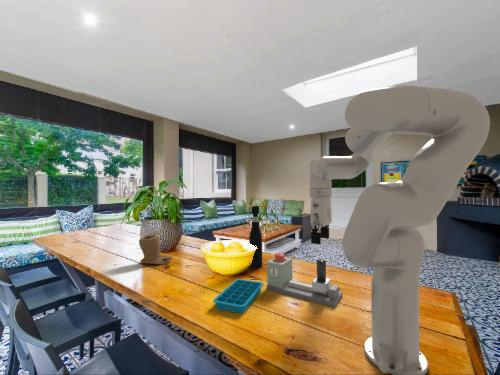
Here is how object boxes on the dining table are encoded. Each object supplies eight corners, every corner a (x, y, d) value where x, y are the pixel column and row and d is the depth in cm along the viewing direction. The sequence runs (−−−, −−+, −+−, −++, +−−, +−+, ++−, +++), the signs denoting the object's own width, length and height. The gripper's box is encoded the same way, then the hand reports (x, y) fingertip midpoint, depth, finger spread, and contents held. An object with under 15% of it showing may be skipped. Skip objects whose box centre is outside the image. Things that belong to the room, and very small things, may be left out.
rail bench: (334, 307, 80) (334, 275, 80) (266, 289, 94) (266, 262, 94) (342, 295, 88) (342, 266, 88) (278, 280, 103) (278, 255, 103)
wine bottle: (261, 268, 118) (260, 206, 117) (248, 267, 119) (247, 206, 118) (263, 264, 124) (262, 205, 123) (251, 263, 125) (250, 205, 125)
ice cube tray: (264, 290, 94) (264, 282, 94) (244, 316, 76) (244, 307, 76) (237, 286, 99) (236, 278, 99) (211, 310, 80) (211, 301, 80)
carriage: (325, 296, 84) (325, 264, 83) (311, 292, 86) (311, 261, 86) (330, 289, 88) (330, 259, 88) (317, 286, 91) (317, 257, 91)
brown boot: (134, 265, 125) (133, 236, 125) (151, 258, 136) (151, 231, 136) (157, 268, 120) (156, 238, 119) (173, 261, 131) (172, 233, 130)
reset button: (282, 272, 94) (282, 256, 94) (273, 270, 96) (272, 255, 96) (286, 269, 97) (286, 254, 97) (277, 267, 100) (277, 252, 100)
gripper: (323, 195, 78) (323, 247, 78) (337, 192, 92) (337, 237, 93) (301, 194, 82) (301, 244, 83) (318, 192, 96) (318, 235, 97)
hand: (320, 240), depth 88 cm, fingers open, 9 cm apart
